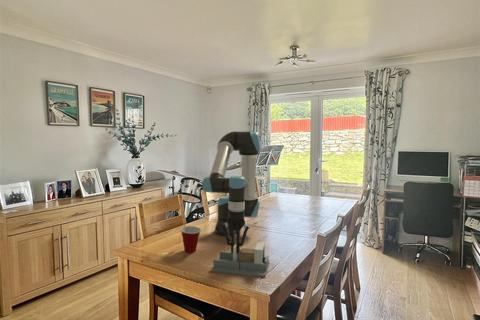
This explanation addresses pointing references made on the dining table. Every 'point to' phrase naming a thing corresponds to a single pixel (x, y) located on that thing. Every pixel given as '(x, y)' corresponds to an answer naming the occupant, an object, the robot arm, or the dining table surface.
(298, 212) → the dining table surface
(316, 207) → the dining table surface
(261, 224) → the dining table surface
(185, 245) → the plastic cup
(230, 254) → the grey grooved base
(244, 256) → the brown rectangular block
